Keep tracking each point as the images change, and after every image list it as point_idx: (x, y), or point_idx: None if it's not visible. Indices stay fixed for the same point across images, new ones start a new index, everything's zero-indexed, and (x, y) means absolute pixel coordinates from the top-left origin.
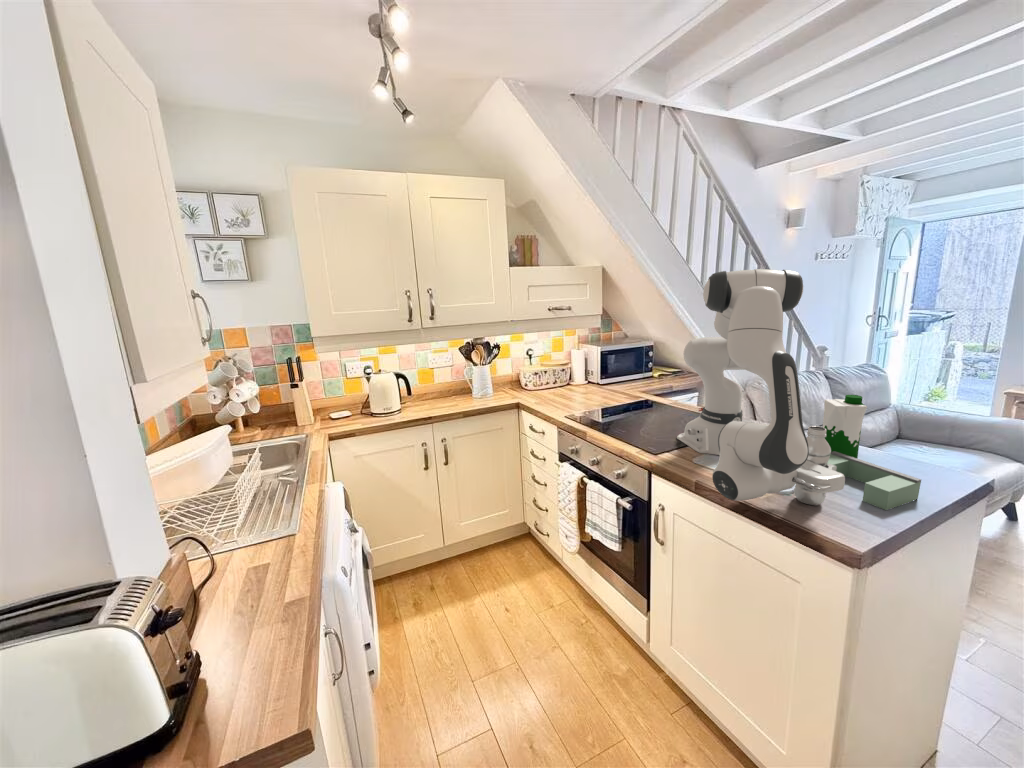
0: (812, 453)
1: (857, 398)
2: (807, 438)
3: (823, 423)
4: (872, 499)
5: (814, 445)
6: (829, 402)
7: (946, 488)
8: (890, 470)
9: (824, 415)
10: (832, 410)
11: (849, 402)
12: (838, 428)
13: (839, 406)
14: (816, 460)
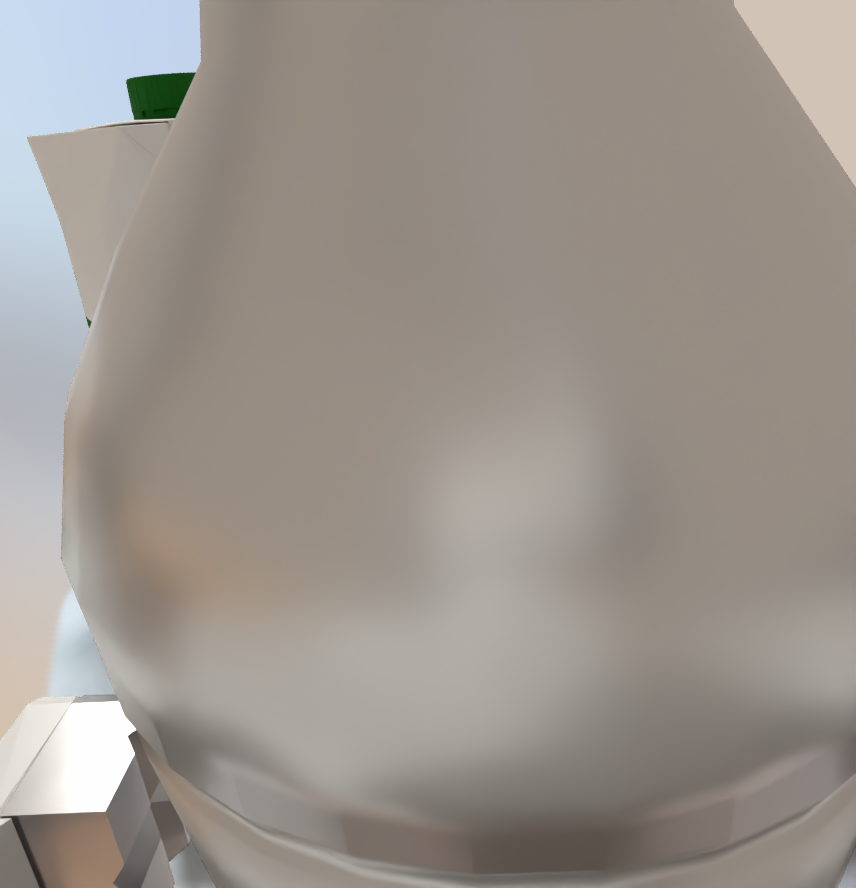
0: (826, 712)
1: (194, 75)
2: (265, 92)
3: (85, 294)
4: None
5: (777, 269)
6: (64, 134)
7: None
8: None
9: (70, 237)
10: (106, 172)
11: (165, 113)
12: None
13: (135, 127)
14: (847, 841)
